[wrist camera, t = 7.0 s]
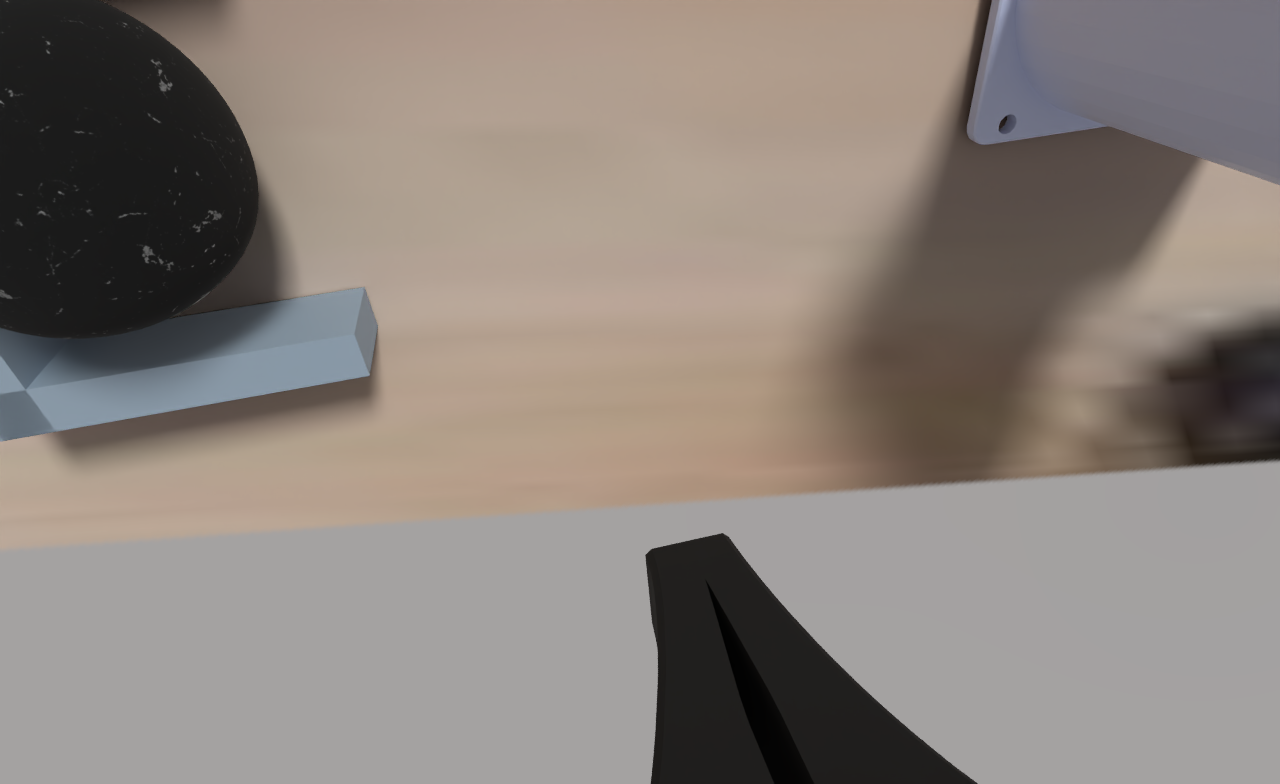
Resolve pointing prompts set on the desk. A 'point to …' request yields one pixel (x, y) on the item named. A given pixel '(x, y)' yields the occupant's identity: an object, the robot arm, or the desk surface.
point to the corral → (183, 362)
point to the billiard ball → (111, 174)
